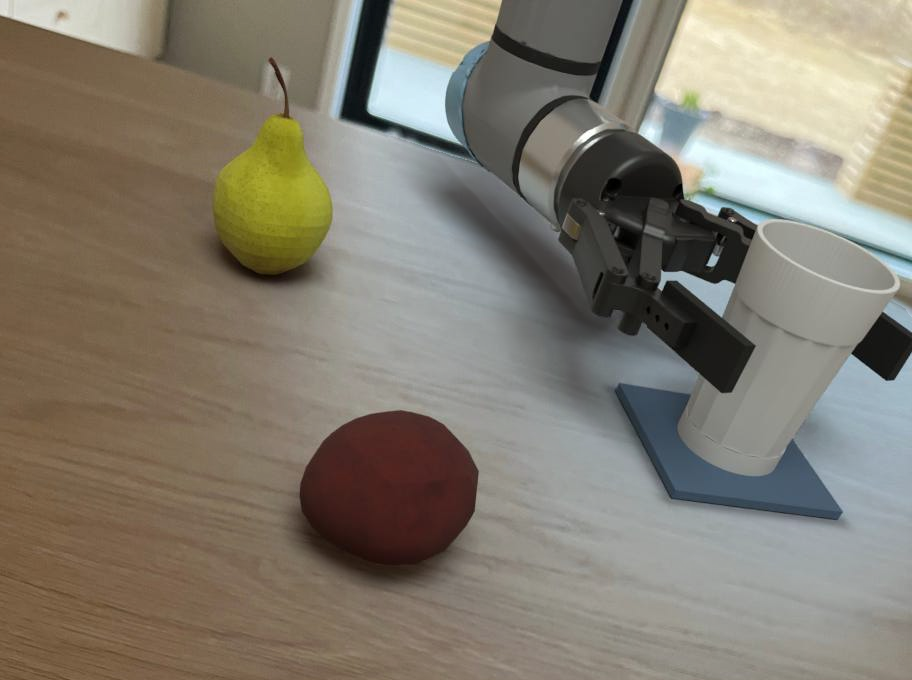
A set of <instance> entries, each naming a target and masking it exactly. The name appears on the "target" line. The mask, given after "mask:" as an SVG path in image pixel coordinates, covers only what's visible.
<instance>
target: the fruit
mask: <svg viewBox="0 0 912 680" xmlns="http://www.w3.org/2000/svg"><path fill="white" fill-rule="evenodd" d="M267 61H268V62H269V64H270V65H271V66H272V68H273V70H274V74H275V77H276V79H277V81H278V83H279V85H280V87H281V89H282V92H283V95H284V107H283V109H284V110H283V112H276V113H274V114H272V115H271V116H269V117H268V118H266V120H265V121H264V122H263V123H262V125H261V127H260V130H259V131H258V134H257V136H256V138H255V139H254V141H253V143H252V144H251V146H250V147H249V148H248V149H247V150H244V151H243V152H242V153H240V154H239V155H238V156H236V157H235V158H233V159H232V160H231V161H230V162H228V163H227V164H226V165H224V167H222V169H221V170H220V172H219V173H218V176H217V178H216V180H215V183H214V189H213V193H212V214H213V215H212V216H213V221H214V226H215V231H216V233H217V234H218V237H219V239H220V242H221V243H222V245H224V247H225V248H226V249H227V250H228V251H229V252H230V253H231V255H233V256H234V257H235V258H236V259H237V260H238V262H240V264H241V265H242V266H244V267H246V268H248V269H249V270H252V271H253V272H255V273H256V274H259V275H271V276H275V275H280V274H283V273H285V272H287V271H290V270H293V269H295V268H297V267H300V266H301V265H303V264H304V263H306V262H308V261H309V259H311V258H312V257H313V256H314V255H315V254H316V252H317V250H318V249H319V248H320V246H321V245H322V244H323V242H324V240H325V239H326V237H327V234H328V233H329V231H330V228H331V225H332V222H333V215H334V214H333V212H334V211H333V210H334V209H333V202H332V195H331V193H330V189H329V188H328V186H327V184H326V181H324V179H323V178H322V176H321V175H320V173H319V172H318V171H317V169H316V168H315V167H314V166H313V164H312V163H311V162H310V159H309V158H308V155H307V152H306V148H305V140H304V139H305V138H304V133H303V132H304V131H303V129H302V127H301V125H300V123H299V122H298V121H297V119H296V118H294V117H293V116H291V115H290V104H289V97H288V96H289V95H288V90H287V86H286V83H285V80H284V77H283V74H282V72H281V71H280V68H279V67H278V64H277V62H276V60H275V59H274V57H269V58H268V59H267Z"/></svg>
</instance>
